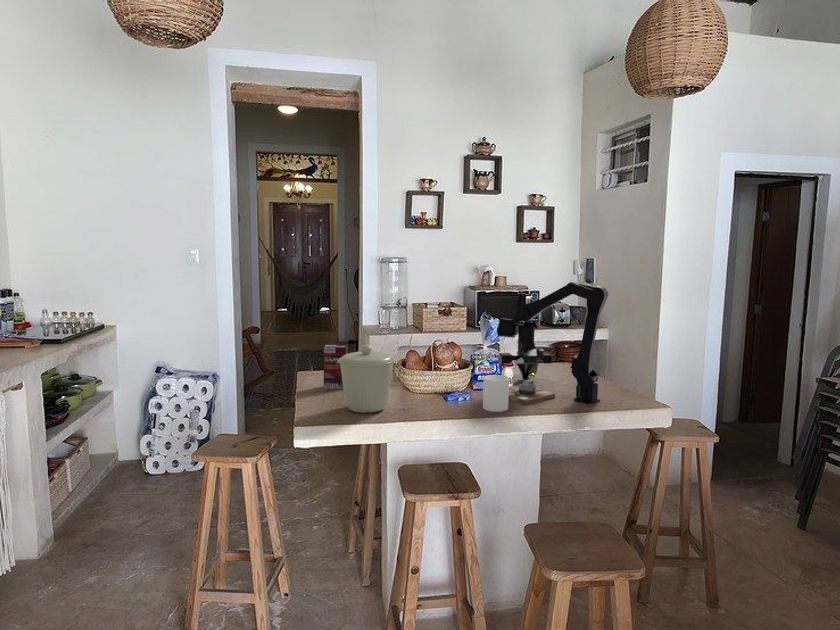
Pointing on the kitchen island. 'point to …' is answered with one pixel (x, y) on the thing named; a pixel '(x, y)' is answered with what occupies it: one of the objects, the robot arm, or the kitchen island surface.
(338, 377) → the supplement box
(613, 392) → the kitchen island surface
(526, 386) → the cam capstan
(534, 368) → the cup
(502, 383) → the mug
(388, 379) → the canister
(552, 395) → the stand
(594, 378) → the robot arm
